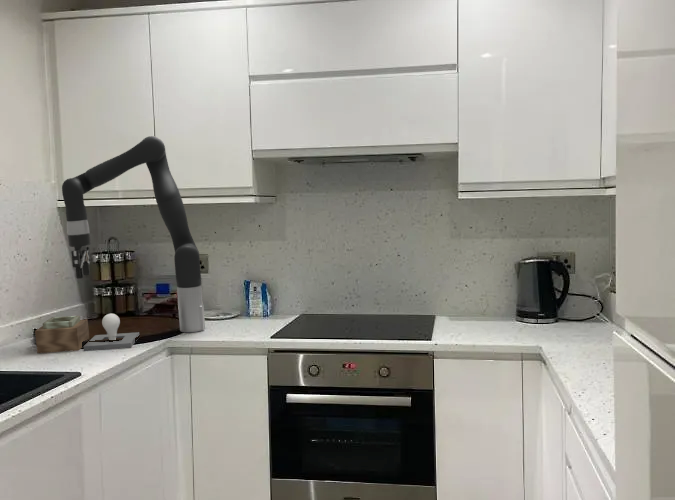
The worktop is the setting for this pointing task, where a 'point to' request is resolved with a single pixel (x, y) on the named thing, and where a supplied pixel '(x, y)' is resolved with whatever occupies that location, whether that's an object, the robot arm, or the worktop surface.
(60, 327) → the raised socket
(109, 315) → the lightbulb
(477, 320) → the worktop surface
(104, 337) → the frame
